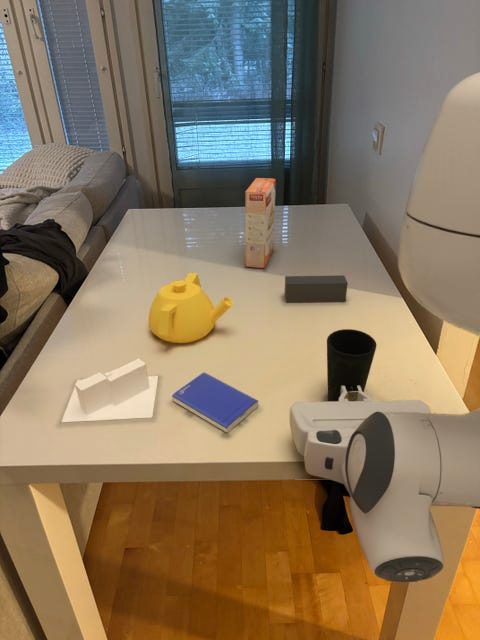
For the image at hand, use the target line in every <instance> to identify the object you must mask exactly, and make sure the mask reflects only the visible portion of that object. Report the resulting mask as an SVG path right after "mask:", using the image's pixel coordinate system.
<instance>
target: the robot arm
mask: <svg viewBox="0 0 480 640" xmlns="http://www.w3.org/2000/svg"><path fill="white" fill-rule="evenodd" d="M405 206H406V207H405V211H404V215H403V220H402V224H401V230H400V235H399V242H398V250H397V267H398V272H399V274H400V275H399V276H400V277H401V281H402V282H403V284H404V286H405V288H406V289H407V291H408V292H409V293H410V295H411V297H413V298H414V299H415V300H416V301H417V303H418V304H420V305H421V306H422V307H423V308H424V309H425V310H427V311H428V312H430V313H431V314H432V315H434V316H436V317H437V318H439V319H440V320H442V321H444V322H445V323H446V324H449V325H451V326H453V327H455V328H458V329H461V330H463V331H465V332H468V333H470V334H473V335H475V336H476V337H480V71H479V72H475V73H474V74H472V75H470V76H467V77H466V78H464V79H462V80H461V81H459V82H458V83H456V85H454V86H453V87H452V88H451V89H450V91H448V93H447V94H446V96H445V97H444V98H443V100H442V101H441V104H440V106H439V108H438V111H437V113H436V116H435V118H434V120H433V122H432V124H431V127H430V129H429V132H428V135H427V138H426V140H425V143H424V145H423V148H422V151H421V154H420V157H419V160H418V163H417V165H416V170H415V173H414V176H413V180H412V183H411V186H410V191H409V193H408V198H407V203H406V205H405ZM351 400H354V401H351ZM289 428H290V433H291V436H292V439H293V443H294V445H295V447H296V450H297V451H298V453H299V454H300V455H301V456H303V459H304V460H303V461H304V469H305V472H306V473H307V474H308V475H311V476H314V477H318V478H322V479H327V480H330V481H334V482H336V483H338V484H339V483H340V484H342V485H343V486H344V488H345V489H346V491H347V493H348V494H349V496H350V498H349V511H350V515H351V519H352V523H353V527H354V530H355V534H356V537H357V539H358V542H359V545H360V548H361V550H362V553H363V556H364V558H365V560H366V562H367V564H368V566H369V569H370V570H371V572H372V573H373V574H374V576H376V577H378V578H379V579H382V580H384V581H387V582H393V583H394V582H395V583H418V582H421V581H425V580H429V579H432V578H433V577H435V576H437V574H439V573H440V572H441V571H443V569H444V567H445V557H444V553H443V548H442V544H441V541H440V537H439V534H438V529H437V526H436V523H435V520H434V518H433V515H432V512H431V507H460V508H461V507H465V508H473V509H477V510H480V407H478V408H476V409H474V410H472V411H469V412H466V413H435V412H433V413H432V411H431V408H430V406H429V405H428V404H427V403H425V402H424V401H422V400H420V399H410V400H409V399H407V400H406V399H405V400H404V399H403V400H400V399H399V400H374V398H373V397H372V396H370V395H369V394H367V393H366V392H365V391H364V392H362V390H361V387H360V385H358V386H341V396H340V397H339V400H338V401H332V402H328V401H295V402H293V404H292V405H291V406H290V408H289Z"/></svg>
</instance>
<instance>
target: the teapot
mask: <svg viewBox="0 0 480 640" xmlns="http://www.w3.org/2000/svg"><path fill="white" fill-rule="evenodd" d="M155 295H156V296H155V297H154V299H153V301H152V302H151V305H150V307H149V313H148V327H149V329H150V331H151V332H152V333H153V334H154V335H155V336H156V337H158V338H159V339H161V340H163V341H165V342H166V343H167V342H168V343H172V344H188V343H193V342H197V341H199V340H201V339H203V338H204V337H206V336H207V335H208V334H209V333H210V332H211V331H212V329H214V327H215V325H216V323H217V321H218V320H219V319H220V318H222V316H223V315H224V314H225V313H226V312H227V311H228V310H229V309H231V308H232V307H233V306H234V303H233V300H232V299H231V298H229V297H226V296H225V297H223V298H222V299H221V300H220V302H218V303H217V305H216V306H214V305H213V302H212V300H211V298H209V296H208V295H207V293H206V292H205V291H204V290H203V289H202V286H201V282H200V278H199V273H194V272H189V273H188V275H187V276H186V277H185V279H184V280H183V279H180V280H174V281H173V282H170V283H167V284H165V285H163V286H162V287H161V288H160V289H159V290H158V292H157V293H156V294H155Z"/></svg>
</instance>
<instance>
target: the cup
mask: <svg viewBox="0 0 480 640" xmlns="http://www.w3.org/2000/svg"><path fill="white" fill-rule="evenodd" d="M376 349H377V342H376V340H375V339H374V337H372V335H370V334H368V333H366V332H364V331H361V330H358V329H352V328H348V329H347V328H346V329H344V328H343V329H338V330H335V331H333V332H331V333H330V334H328V336H327V338H326V364H327V365H326V372H327V374H326V375H327V379H326V380H327V402H332V401H338V400H339V397H340V396H341V386H358V385H360V387H361V390H362V392H364V393H365V389H366V386H367V382H368V378H369V375H370V371H371V368H372V365H373V360H374V358H375V357H374V356H375V354H376V351H377V350H376ZM351 401H354V400H351Z"/></svg>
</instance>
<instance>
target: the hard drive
mask: <svg viewBox="0 0 480 640" xmlns="http://www.w3.org/2000/svg"><path fill="white" fill-rule="evenodd" d="M171 400H172V401H173V402H174V403H176V404H178V405H179V406H181V407H183V408H185V409H186V410H187V411H190V412H191V413H193V414H194V415H196V416H198V417H200V418H201V419H203V420H204V421H206V422H207V423H210V424H212V425H213V426H214V427H216V428H219V430H222V431H223V432H225V433H227V434H228V433H229V432H231V431H232V430H233V429H234V428H235V427H236V426H237V425H239V424H240V423H241V422H242V421H243V420H244V419H246V418H247V417H248V416H249V415H250V414H251V413H252V412H254V411H255V410H256V409H257V408H258V407H259V400H258V399H256V398H254V397H252V396H250V395H249V394H247V393H244V392H242V391H241V390H239V389H237V388H235V387H233V386H231V385H229V384H227V383H226V382H224V381H222V380H220V379H219V378H218V379H217V378H216V377H214V376H212V375H210V374H208V373H207V372H202V373H200V374H199V375H198V376H196V377H195V378H194V379H192V380H191V381H189V382H188V383H186V384H185V385H183V386H182V387H180V388H179V389H177V391H175V392H174V393H173V394H172V395H171Z"/></svg>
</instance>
